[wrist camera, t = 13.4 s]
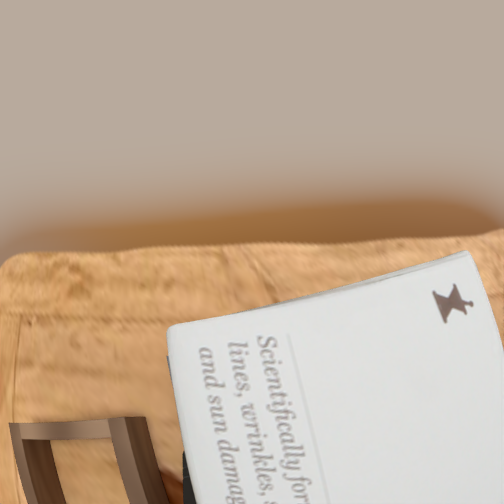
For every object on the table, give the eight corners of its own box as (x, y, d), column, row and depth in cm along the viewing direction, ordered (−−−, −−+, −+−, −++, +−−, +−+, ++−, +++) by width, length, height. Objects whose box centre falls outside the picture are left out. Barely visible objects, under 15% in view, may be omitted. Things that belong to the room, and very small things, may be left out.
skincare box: (234, 382, 18) (136, 294, 5) (332, 359, 18) (470, 222, 5) (262, 508, 14) (247, 685, 1) (362, 483, 14) (533, 572, 1)
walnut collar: (145, 416, 19) (124, 416, 16) (193, 564, 13) (182, 584, 10) (36, 425, 18) (8, 422, 15) (76, 556, 12) (54, 568, 9)
